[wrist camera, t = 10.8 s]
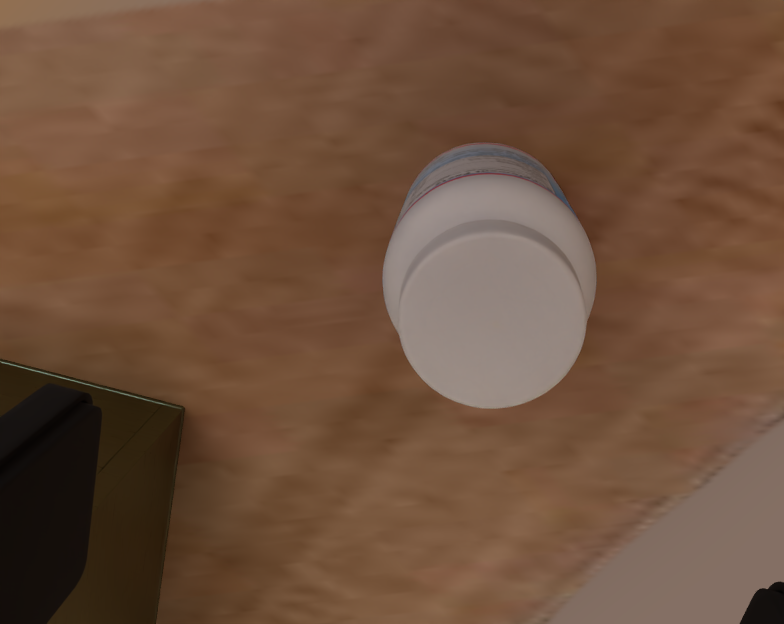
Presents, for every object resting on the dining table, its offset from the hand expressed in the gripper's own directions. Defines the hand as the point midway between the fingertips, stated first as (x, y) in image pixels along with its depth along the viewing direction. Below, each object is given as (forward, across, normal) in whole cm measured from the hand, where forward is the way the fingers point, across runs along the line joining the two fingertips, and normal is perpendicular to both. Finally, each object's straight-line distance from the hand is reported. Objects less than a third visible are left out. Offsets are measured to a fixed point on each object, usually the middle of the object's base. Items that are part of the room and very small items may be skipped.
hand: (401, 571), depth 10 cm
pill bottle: (+20, -1, -1) cm, 20 cm away
